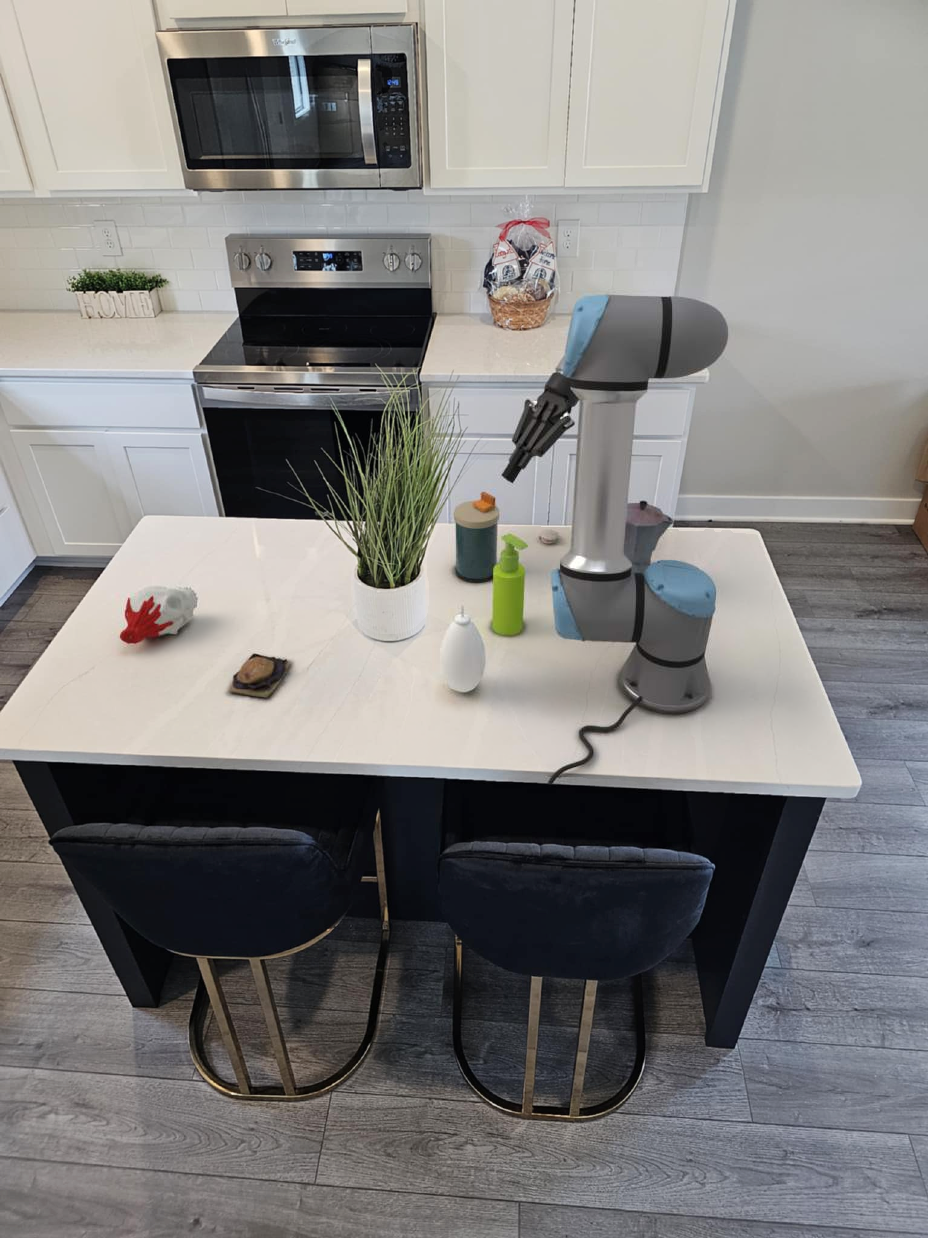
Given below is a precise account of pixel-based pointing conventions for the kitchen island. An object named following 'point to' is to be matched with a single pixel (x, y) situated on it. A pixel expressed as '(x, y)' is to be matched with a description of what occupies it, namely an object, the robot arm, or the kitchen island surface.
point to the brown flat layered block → (259, 676)
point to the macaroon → (548, 536)
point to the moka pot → (643, 533)
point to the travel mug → (475, 542)
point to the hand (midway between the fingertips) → (507, 479)
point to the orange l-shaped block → (485, 502)
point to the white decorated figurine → (157, 612)
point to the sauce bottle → (462, 654)
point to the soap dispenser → (509, 588)
